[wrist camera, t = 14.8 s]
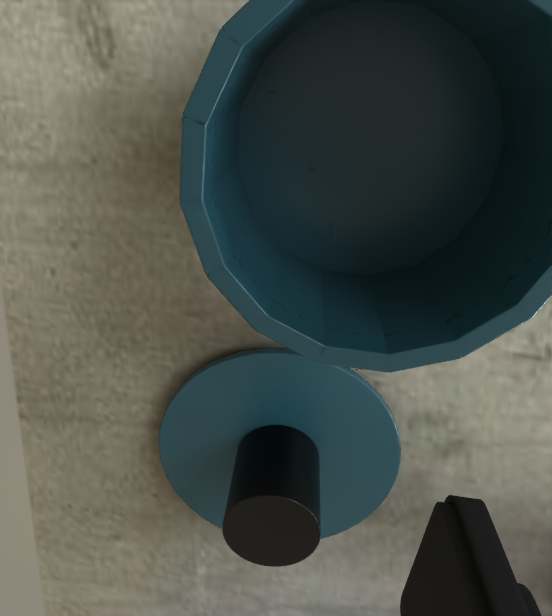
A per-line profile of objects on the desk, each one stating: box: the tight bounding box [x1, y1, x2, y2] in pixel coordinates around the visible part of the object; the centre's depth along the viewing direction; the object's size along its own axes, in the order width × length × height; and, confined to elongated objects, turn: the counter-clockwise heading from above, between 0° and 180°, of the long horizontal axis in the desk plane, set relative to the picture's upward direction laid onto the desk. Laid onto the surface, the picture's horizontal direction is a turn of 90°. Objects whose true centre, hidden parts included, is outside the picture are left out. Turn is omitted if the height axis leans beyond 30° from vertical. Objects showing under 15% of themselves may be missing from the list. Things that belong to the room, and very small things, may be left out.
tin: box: [180, 0, 552, 372], centre depth 20 cm, size 14×14×8 cm
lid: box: [159, 348, 401, 567], centre depth 28 cm, size 15×15×7 cm
